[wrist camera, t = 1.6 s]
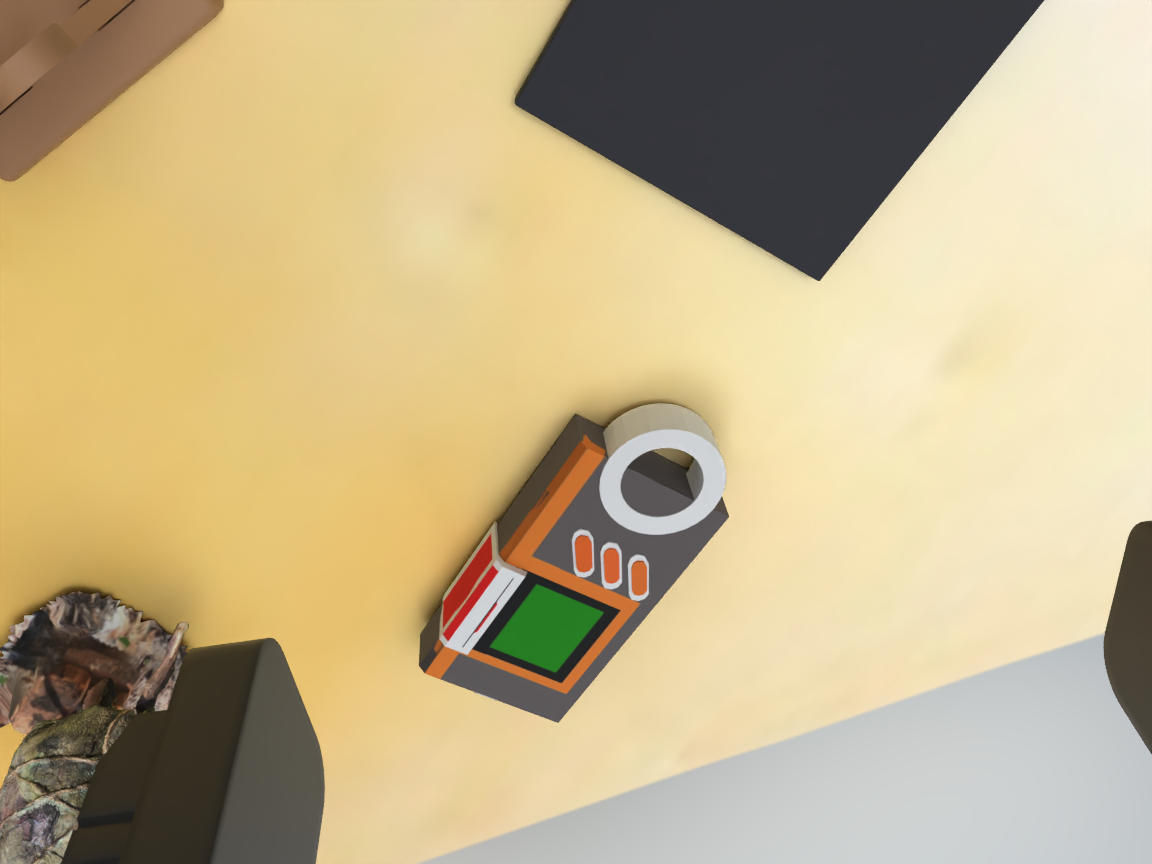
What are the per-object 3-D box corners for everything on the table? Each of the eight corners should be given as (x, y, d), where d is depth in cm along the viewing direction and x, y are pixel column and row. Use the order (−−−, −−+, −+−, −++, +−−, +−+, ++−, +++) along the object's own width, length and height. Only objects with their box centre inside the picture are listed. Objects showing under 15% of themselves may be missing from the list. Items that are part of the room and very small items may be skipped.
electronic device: (770, 475, 38) (554, 734, 44) (751, 432, 41) (549, 683, 47) (615, 397, 36) (410, 682, 42) (605, 356, 38) (413, 631, 45)
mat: (514, 99, 32) (514, 104, 32) (747, -307, 27) (751, -307, 27) (816, 275, 37) (819, 282, 36) (1071, -46, 31) (1079, -42, 31)
